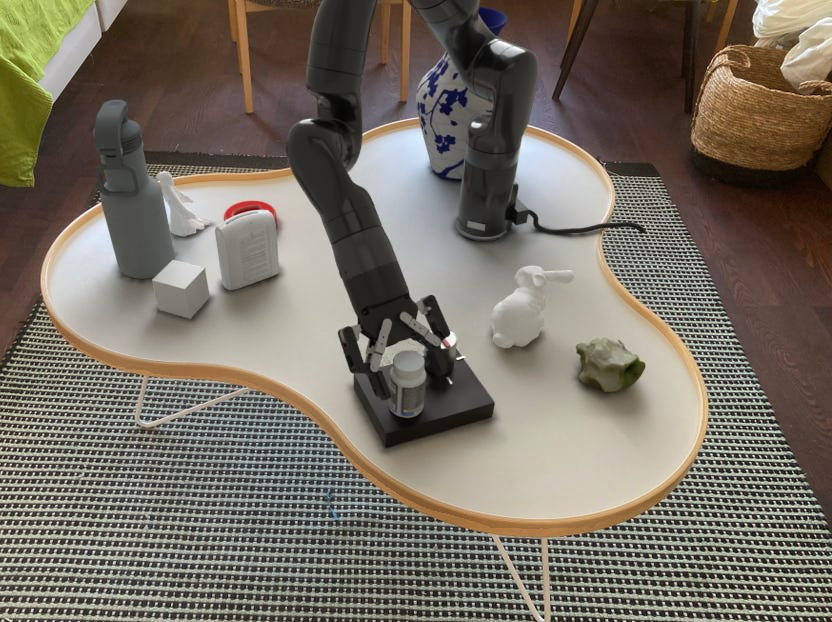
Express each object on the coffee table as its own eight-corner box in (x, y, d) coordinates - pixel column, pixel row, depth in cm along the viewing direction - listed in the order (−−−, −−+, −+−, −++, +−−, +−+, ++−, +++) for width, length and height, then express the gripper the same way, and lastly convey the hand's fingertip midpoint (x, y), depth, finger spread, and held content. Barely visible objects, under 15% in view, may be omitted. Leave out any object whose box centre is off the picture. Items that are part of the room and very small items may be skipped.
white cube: (178, 289, 123) (173, 259, 118) (210, 297, 121) (205, 267, 117) (158, 309, 118) (151, 279, 114) (190, 319, 117) (184, 288, 113)
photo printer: (271, 261, 128) (265, 199, 120) (283, 274, 126) (278, 211, 117) (218, 281, 124) (208, 218, 116) (229, 294, 121) (220, 231, 113)
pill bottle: (428, 399, 100) (433, 354, 94) (415, 423, 96) (419, 377, 91) (396, 389, 101) (398, 343, 95) (382, 412, 98) (384, 366, 92)
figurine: (164, 221, 138) (152, 163, 130) (206, 214, 140) (197, 156, 131) (169, 243, 132) (157, 183, 124) (213, 235, 134) (204, 176, 126)
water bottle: (169, 282, 124) (136, 125, 105) (112, 282, 124) (68, 125, 105) (180, 248, 131) (151, 95, 112) (126, 248, 131) (87, 95, 112)
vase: (425, 195, 144) (438, 39, 124) (401, 151, 158) (409, 3, 138) (517, 186, 147) (543, 31, 127) (485, 143, 161) (505, -3, 140)
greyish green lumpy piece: (641, 407, 104) (653, 374, 98) (573, 403, 106) (581, 371, 100) (636, 355, 110) (647, 321, 103) (571, 352, 111) (578, 318, 105)
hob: (450, 353, 111) (452, 338, 109) (494, 417, 101) (497, 401, 99) (349, 380, 107) (349, 364, 104) (385, 448, 97) (385, 433, 95)
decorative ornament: (278, 214, 140) (277, 199, 137) (275, 242, 133) (274, 227, 130) (228, 214, 140) (226, 199, 137) (222, 242, 133) (220, 227, 130)
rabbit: (511, 304, 119) (523, 242, 111) (565, 326, 115) (581, 264, 107) (475, 344, 112) (485, 281, 104) (531, 369, 108) (546, 306, 100)
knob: (417, 359, 105) (419, 331, 102) (444, 350, 107) (447, 322, 103) (432, 378, 102) (435, 350, 99) (459, 369, 104) (463, 341, 100)
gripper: (330, 280, 88) (379, 406, 88) (428, 246, 93) (473, 365, 94) (311, 292, 95) (356, 408, 95) (403, 259, 100) (445, 370, 101)
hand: (414, 387), depth 94 cm, fingers open, 8 cm apart
